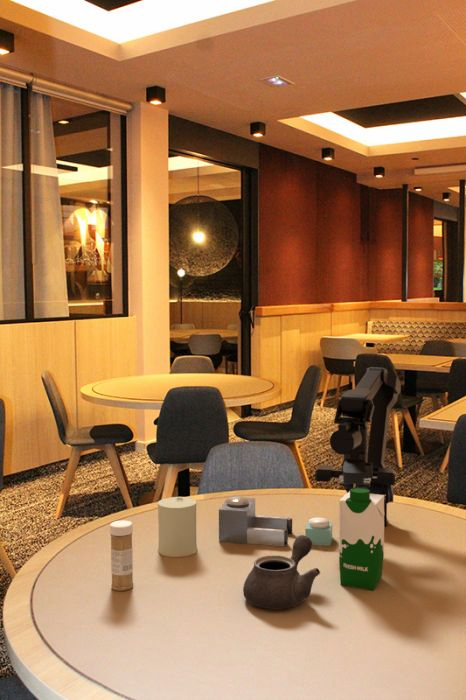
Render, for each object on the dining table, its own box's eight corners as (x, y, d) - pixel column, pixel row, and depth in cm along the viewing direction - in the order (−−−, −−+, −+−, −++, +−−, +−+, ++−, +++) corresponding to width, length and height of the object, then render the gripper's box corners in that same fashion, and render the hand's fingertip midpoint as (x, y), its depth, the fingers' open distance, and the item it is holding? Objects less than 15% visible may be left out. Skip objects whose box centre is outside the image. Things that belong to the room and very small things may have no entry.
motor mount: (292, 531, 180) (293, 496, 180) (287, 546, 170) (287, 509, 169) (228, 527, 184) (228, 493, 183) (218, 541, 173) (218, 505, 172)
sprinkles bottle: (129, 581, 149) (128, 518, 148) (136, 589, 145) (135, 524, 144) (108, 585, 147) (107, 521, 146) (114, 593, 143) (113, 528, 142)
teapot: (309, 622, 130) (309, 569, 130) (232, 607, 137) (232, 556, 136) (338, 584, 147) (338, 537, 147) (269, 572, 154) (269, 527, 153)
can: (199, 543, 172) (199, 495, 171) (194, 557, 163) (193, 506, 162) (162, 542, 173) (161, 494, 172) (154, 556, 163) (153, 505, 163)
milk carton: (334, 585, 146) (335, 490, 145) (347, 570, 155) (347, 480, 153) (377, 593, 143) (378, 495, 141) (387, 577, 151) (388, 484, 149)
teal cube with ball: (332, 538, 176) (332, 517, 175) (330, 546, 170) (330, 525, 170) (308, 536, 177) (308, 516, 177) (305, 544, 171) (305, 523, 171)
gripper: (312, 451, 164) (312, 517, 165) (395, 455, 160) (394, 522, 161) (317, 441, 175) (317, 504, 176) (395, 444, 171) (394, 508, 172)
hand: (354, 509), depth 171 cm, fingers closed
